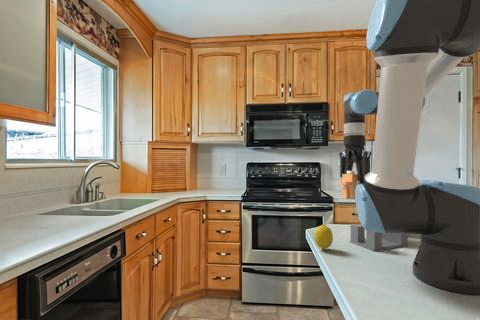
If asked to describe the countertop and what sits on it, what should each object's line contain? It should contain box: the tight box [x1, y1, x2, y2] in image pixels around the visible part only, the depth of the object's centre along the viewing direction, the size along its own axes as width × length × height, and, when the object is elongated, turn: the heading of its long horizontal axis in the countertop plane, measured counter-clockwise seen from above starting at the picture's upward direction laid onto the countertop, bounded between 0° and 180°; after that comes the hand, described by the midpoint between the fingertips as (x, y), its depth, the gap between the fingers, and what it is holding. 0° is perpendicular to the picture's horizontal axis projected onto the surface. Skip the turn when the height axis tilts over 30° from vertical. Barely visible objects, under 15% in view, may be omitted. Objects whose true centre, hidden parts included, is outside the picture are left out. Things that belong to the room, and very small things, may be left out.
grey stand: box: [349, 223, 409, 252], centre depth 93 cm, size 10×15×6 cm, turn 112°
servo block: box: [337, 170, 358, 200], centre depth 103 cm, size 5×12×10 cm, turn 112°
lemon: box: [313, 224, 334, 251], centre depth 87 cm, size 6×6×8 cm
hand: (354, 197), depth 103 cm, fingers closed on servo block, 5 cm apart
